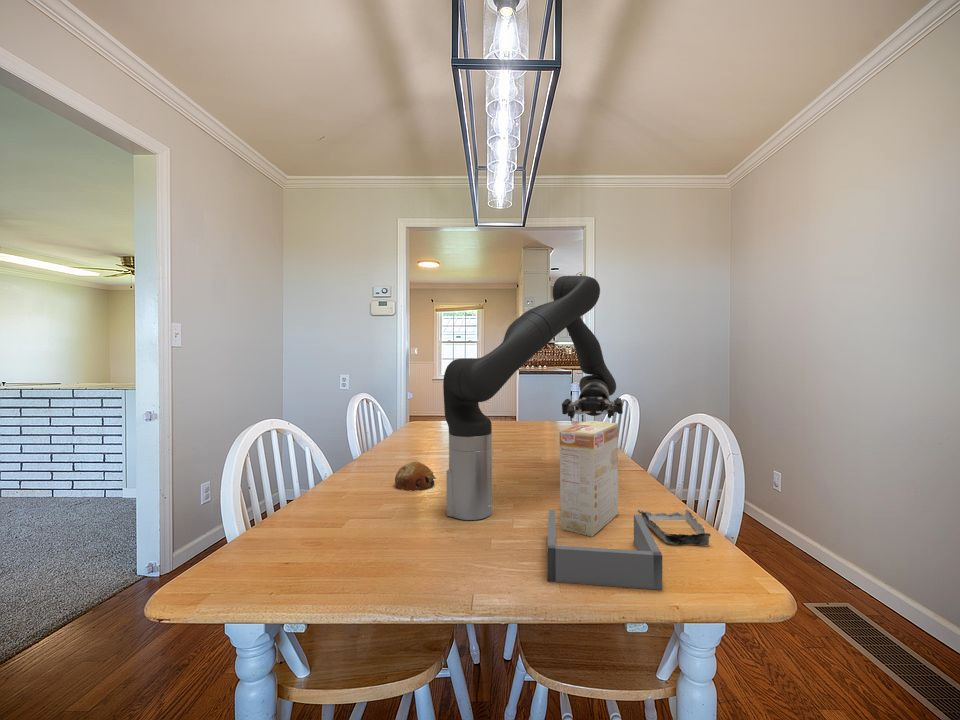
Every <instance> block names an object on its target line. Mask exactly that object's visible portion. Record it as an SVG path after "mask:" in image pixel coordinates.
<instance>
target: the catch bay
mask: <svg viewBox="0 0 960 720" xmlns="http://www.w3.org/2000/svg"><path fill="white" fill-rule="evenodd" d="M547 524H548V525H547V526H548V527H547V548H546V549H547V553H546V554H547V559H546V561H547V563H546V565H547V579H546V580H547V582H554V583H565V584H566V583H567V584H568V583H569V584H578V585H579V584H580V585H592V586H593V585H594V586H605V587H616V588H619V587H620V588H629V589H630V588H631V589H632V588H634V589H646V590H656V591H657V590H658V591H663V554H662V553H661V550H660V547H659V546H658V545H657V543H656V541H655V539H654V537H653V535H652V533H651V531H650V530H649V529H650V528H649V526H648V525H647V524H646V523H645V522H644V520H643V518H642V515H641V514H639V513H638V514H637V513H633V543H634V545H635V548H636V549H634V550H633V549H620V548H619V549H618V548H606V547H605V548H603V547H592V546H591V547H589V546H586V547H585V546H573V545H571V546H570V545H559V544H558V545H557V544H556V542H557V541H556V539H557V538H556V526H557V525H556V524H557V523H556V510H555V509H548V523H547Z"/></svg>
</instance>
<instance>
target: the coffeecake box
mask: <svg viewBox="0 0 960 720" xmlns="http://www.w3.org/2000/svg"><path fill="white" fill-rule="evenodd" d="M618 427H619V426H618V422H606V421H599V420H587V421H584V422H580V423H578V424H575V425H573V426H570V427H567V428H564V429H560V430H558V431H559V497H560V498H559V505H560V506H559V509H560V513H559V517H560V518H559V520H560V522H559V523H560V527H559V529H560V530H561V531H565V530H567V531H566V532H569V531H570V532H571V533H574V532H575V534H580V535H582V534H583V536H586V535H587V536H586V537H591V538H592V537H595V535H597V533H599V532H600V530H602V529H603V528H604V527H605V526H606V525H607V524H608V523H610V522H611V521H612V520H613V519H614V518H616V516H618V515H619V462H618V461H619V456H618V455H619V452H618V451H619V449H618V448H619V446H618V445H619V442H618V440H619V439H618V438H619V436H618V435H619V434H618V431H619V430H618Z"/></svg>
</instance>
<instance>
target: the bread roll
mask: <svg viewBox="0 0 960 720" xmlns="http://www.w3.org/2000/svg"><path fill="white" fill-rule="evenodd" d="M436 479H437V477H436V476H435V475H434V471H432V469H431V468H429V466H427V465H426V464H424V463H422V462H420V461H411V462H408V463H405V464H404V465H402V466H401V467H400V468H399V469H398V470H397V472H396V474H395V477H394V484H395V487H396V488H397V489H398V490H401V489H403V490H402V491H409V490H412V491H411V492H415V491H414V490H420V491H424V490H425V489H426V490H428V489H430V488H432V487H434V486H435V480H436Z"/></svg>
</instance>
